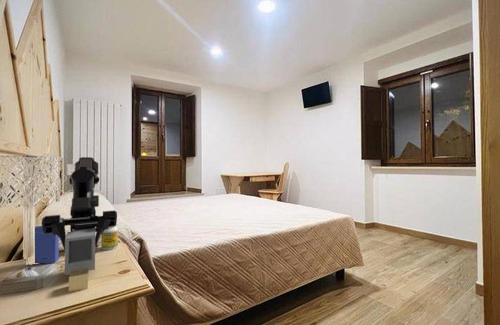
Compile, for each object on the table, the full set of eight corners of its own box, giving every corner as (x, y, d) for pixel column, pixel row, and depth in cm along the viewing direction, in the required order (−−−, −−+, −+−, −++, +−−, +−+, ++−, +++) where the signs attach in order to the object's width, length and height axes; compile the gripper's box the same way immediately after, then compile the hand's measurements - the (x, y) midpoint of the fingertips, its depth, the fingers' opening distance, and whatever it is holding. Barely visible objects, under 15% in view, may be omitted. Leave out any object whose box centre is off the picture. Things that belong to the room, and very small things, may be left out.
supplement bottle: (117, 244, 98) (117, 220, 98) (118, 248, 93) (118, 223, 93) (101, 247, 95) (101, 222, 95) (101, 251, 90) (102, 225, 90)
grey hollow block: (67, 265, 74) (67, 232, 74) (95, 260, 77) (95, 229, 77) (64, 275, 68) (65, 238, 68) (94, 269, 71) (95, 235, 71)
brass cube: (70, 285, 66) (70, 270, 66) (88, 282, 68) (88, 267, 68) (68, 292, 62) (68, 277, 62) (87, 288, 65) (87, 273, 65)
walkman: (58, 259, 83) (59, 223, 82) (55, 262, 80) (55, 225, 80) (29, 262, 80) (29, 225, 80) (24, 265, 77) (25, 227, 77)
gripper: (43, 188, 71) (34, 237, 61) (117, 185, 81) (119, 227, 71) (47, 210, 78) (40, 257, 68) (115, 205, 87) (116, 246, 78)
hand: (80, 246), depth 71 cm, fingers closed on grey hollow block, 7 cm apart
